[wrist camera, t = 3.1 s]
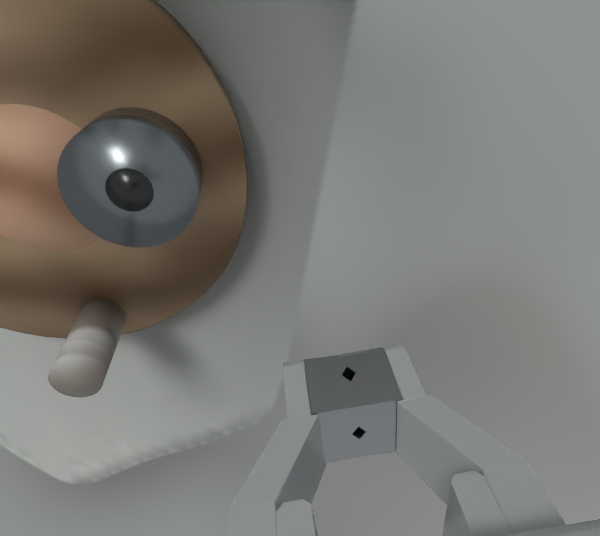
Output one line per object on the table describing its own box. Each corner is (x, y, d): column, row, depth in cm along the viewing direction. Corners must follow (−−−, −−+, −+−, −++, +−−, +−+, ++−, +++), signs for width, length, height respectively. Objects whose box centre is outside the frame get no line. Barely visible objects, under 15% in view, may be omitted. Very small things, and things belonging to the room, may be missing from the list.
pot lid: (54, 117, 22) (30, 133, 20) (185, 98, 23) (177, 112, 20) (104, 231, 26) (89, 257, 24) (214, 214, 26) (211, 237, 24)
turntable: (-334, -39, 19) (-645, -54, 12) (194, -111, 19) (167, -162, 13) (-34, 342, 32) (-106, 433, 26) (272, 294, 33) (279, 370, 26)
